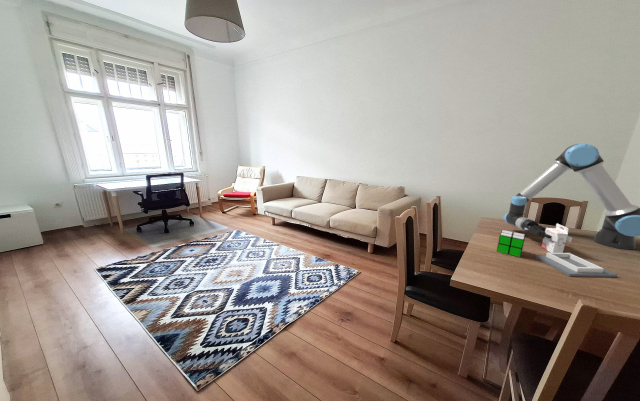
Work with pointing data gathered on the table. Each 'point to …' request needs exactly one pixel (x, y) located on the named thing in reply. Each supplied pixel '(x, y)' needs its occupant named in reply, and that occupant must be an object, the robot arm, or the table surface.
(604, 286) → the table surface
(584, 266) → the cartridge dock
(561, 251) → the ink cartridge box
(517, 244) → the puzzle cube
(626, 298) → the table surface
